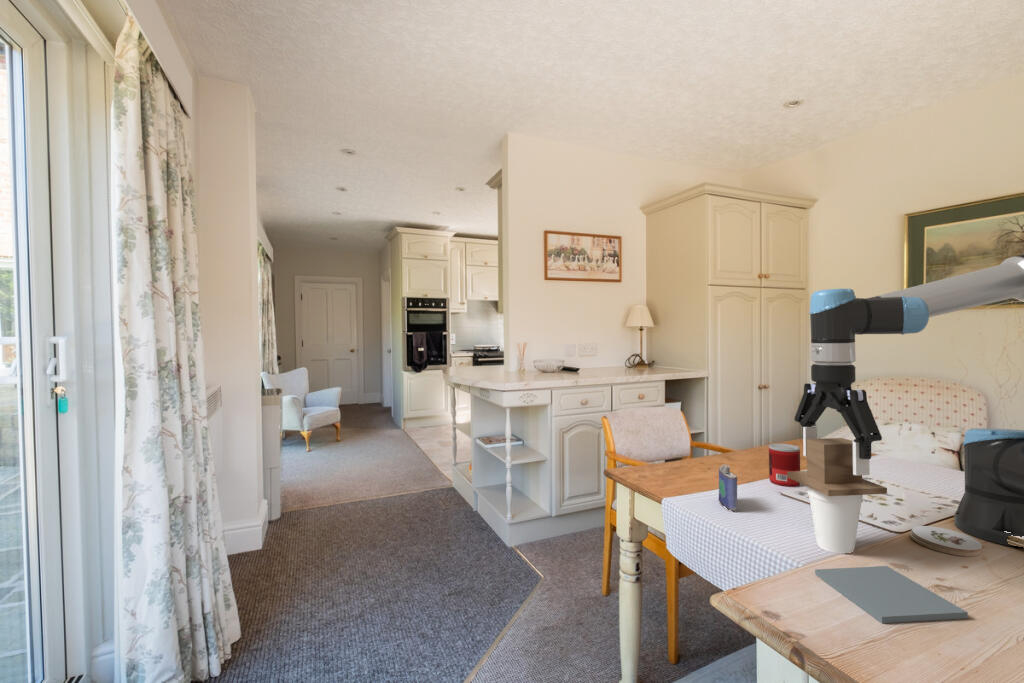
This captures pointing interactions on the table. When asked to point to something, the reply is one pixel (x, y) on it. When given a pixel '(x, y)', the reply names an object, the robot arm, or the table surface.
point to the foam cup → (835, 520)
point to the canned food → (783, 464)
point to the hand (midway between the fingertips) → (833, 464)
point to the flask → (727, 488)
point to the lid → (833, 469)
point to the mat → (889, 595)
